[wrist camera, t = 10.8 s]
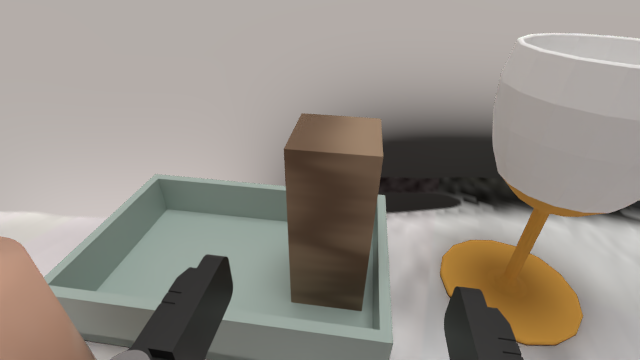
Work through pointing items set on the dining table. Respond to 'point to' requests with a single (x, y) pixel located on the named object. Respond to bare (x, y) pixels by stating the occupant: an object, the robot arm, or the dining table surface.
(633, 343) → the dining table surface
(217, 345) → the tray
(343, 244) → the walnut block
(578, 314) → the cup
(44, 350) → the terracotta cylinder
